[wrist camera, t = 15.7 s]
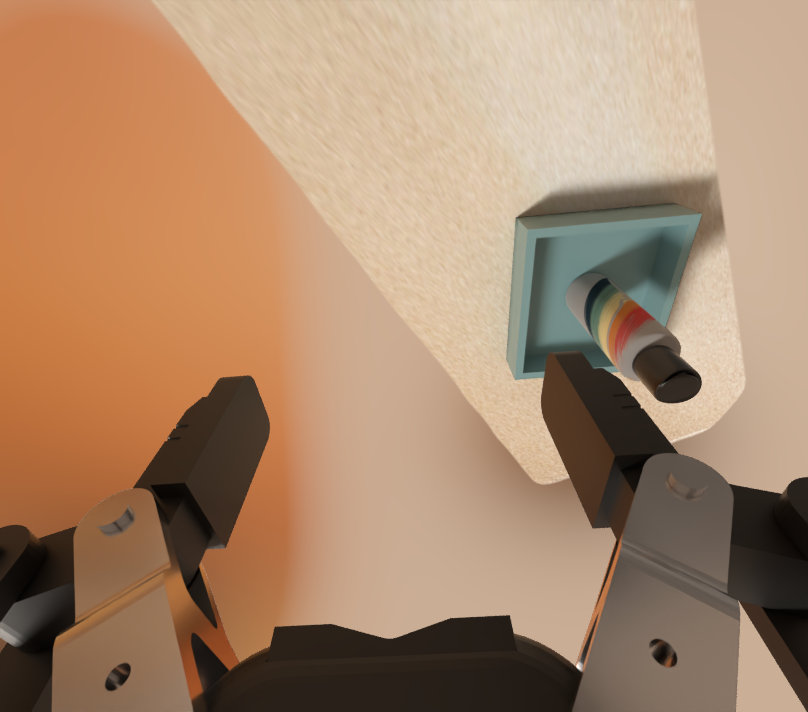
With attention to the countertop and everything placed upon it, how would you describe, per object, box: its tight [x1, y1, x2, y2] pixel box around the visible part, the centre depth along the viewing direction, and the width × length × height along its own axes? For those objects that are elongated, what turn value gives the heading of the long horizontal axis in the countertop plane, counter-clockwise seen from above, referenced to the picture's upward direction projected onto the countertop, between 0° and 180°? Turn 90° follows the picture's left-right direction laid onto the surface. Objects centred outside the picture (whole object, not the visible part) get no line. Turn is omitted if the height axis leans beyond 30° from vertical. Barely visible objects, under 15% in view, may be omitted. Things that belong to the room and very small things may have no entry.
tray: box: [506, 203, 702, 380], centre depth 48 cm, size 20×18×5 cm
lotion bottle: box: [565, 273, 702, 403], centre depth 41 cm, size 6×6×20 cm
